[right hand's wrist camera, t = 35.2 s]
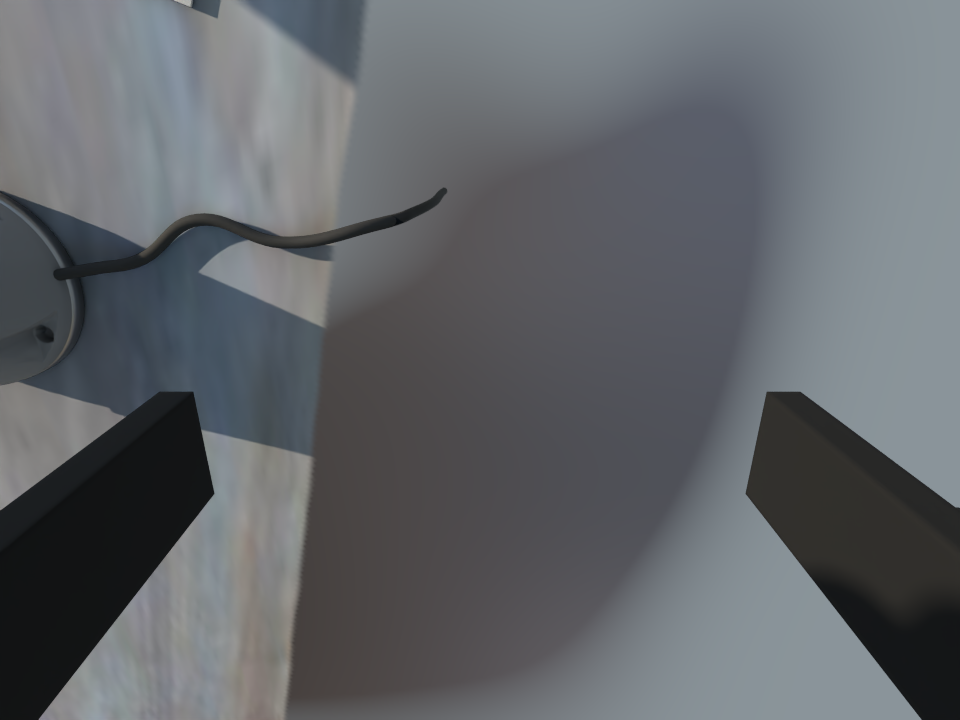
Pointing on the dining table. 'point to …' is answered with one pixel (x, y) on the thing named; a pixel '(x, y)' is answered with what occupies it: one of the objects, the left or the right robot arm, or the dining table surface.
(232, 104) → the dining table surface
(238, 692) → the dining table surface
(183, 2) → the invitation card
